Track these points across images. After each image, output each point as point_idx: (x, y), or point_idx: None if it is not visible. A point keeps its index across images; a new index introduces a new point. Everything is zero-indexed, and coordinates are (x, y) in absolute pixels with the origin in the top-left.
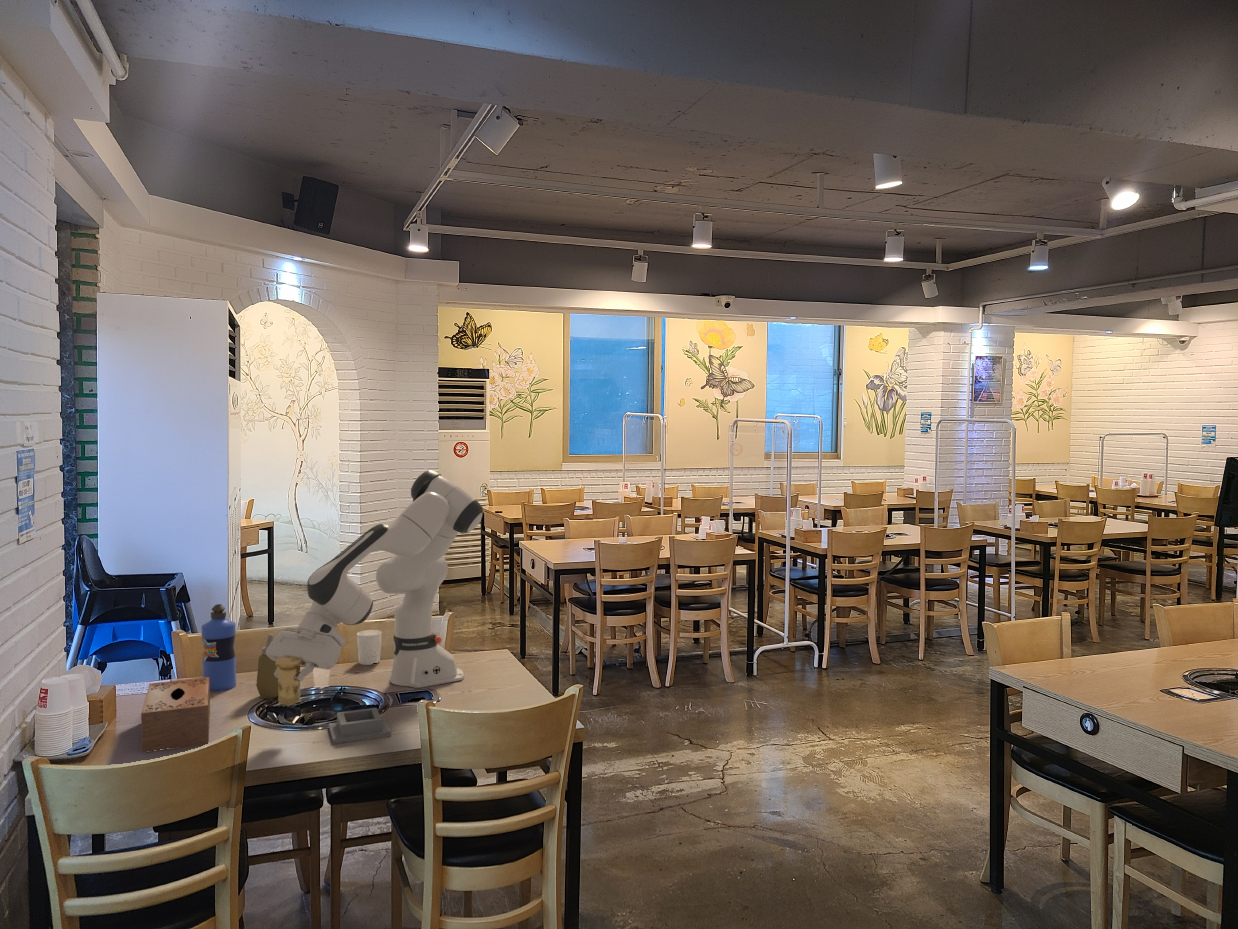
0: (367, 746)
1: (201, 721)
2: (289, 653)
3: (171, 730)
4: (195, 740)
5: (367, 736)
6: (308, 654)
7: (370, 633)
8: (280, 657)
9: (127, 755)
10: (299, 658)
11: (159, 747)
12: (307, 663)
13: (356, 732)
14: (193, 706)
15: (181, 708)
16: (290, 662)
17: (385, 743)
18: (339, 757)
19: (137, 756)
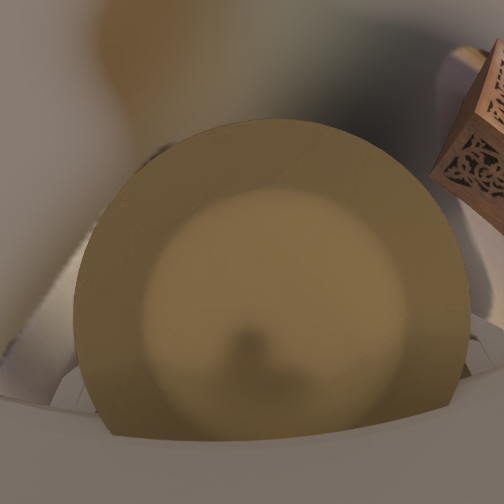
0: (49, 365)
1: (459, 130)
2: (427, 448)
3: (470, 97)
4: (444, 148)
5: None
6: (41, 476)
7: None
8: (424, 258)
9: (470, 81)
10: (115, 384)
11: (462, 106)
12: (74, 405)
13: None
14: (487, 93)
15: (487, 74)
16: (117, 201)
17: (34, 396)
18: (59, 281)
19: (455, 82)
